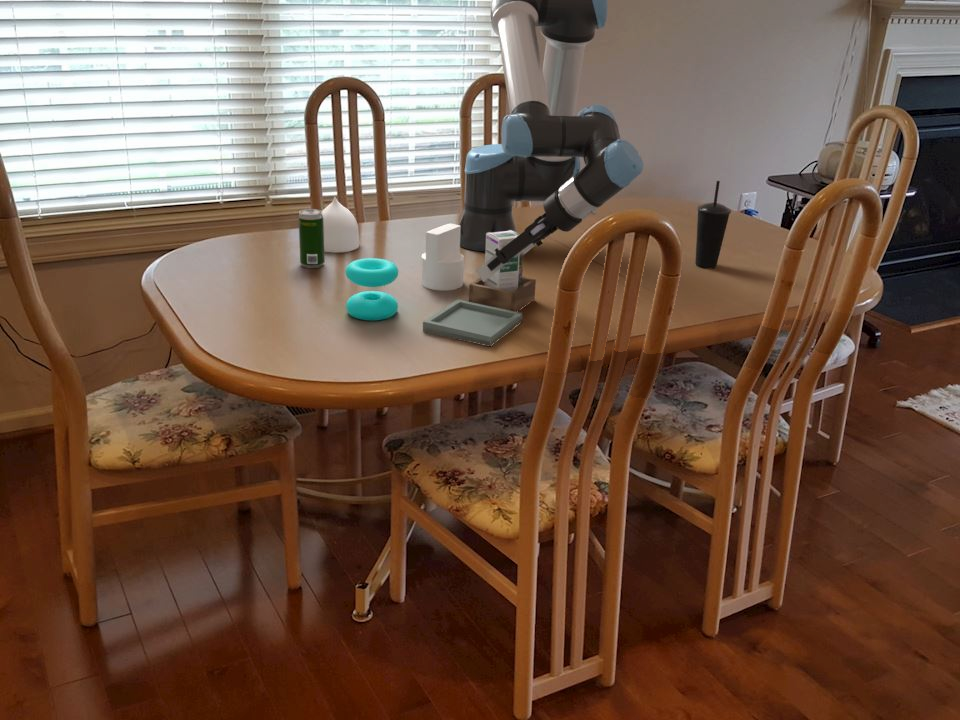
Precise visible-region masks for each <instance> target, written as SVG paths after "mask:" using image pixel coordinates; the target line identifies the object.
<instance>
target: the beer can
mask: <svg viewBox="0 0 960 720" xmlns="http://www.w3.org/2000/svg"><path fill="white" fill-rule="evenodd" d="M322 211H323V210H321V209H316V208H308V209H307V208H305V209H302V210H299V211H298V212H299V214H298V237H299V263H300V264H301V267H304V268H306V269H318V268H321V267H323V266H324V264H325V261H326V260H325V259H326V258H325V252H324V221H323V214H322Z"/></svg>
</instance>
